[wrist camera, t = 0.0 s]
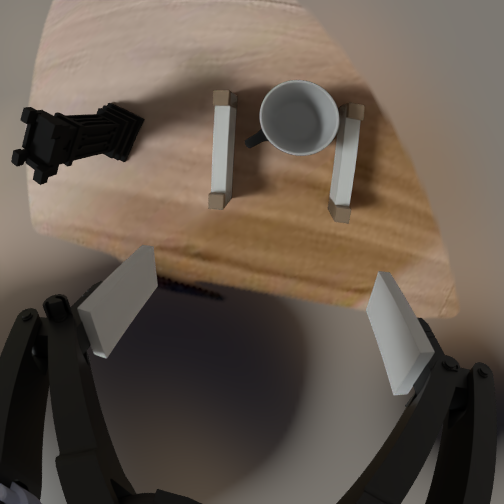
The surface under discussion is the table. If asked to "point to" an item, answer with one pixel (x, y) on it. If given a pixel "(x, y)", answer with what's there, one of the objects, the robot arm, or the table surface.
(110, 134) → the chess piece
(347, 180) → the chute
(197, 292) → the table surface
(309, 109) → the mug
